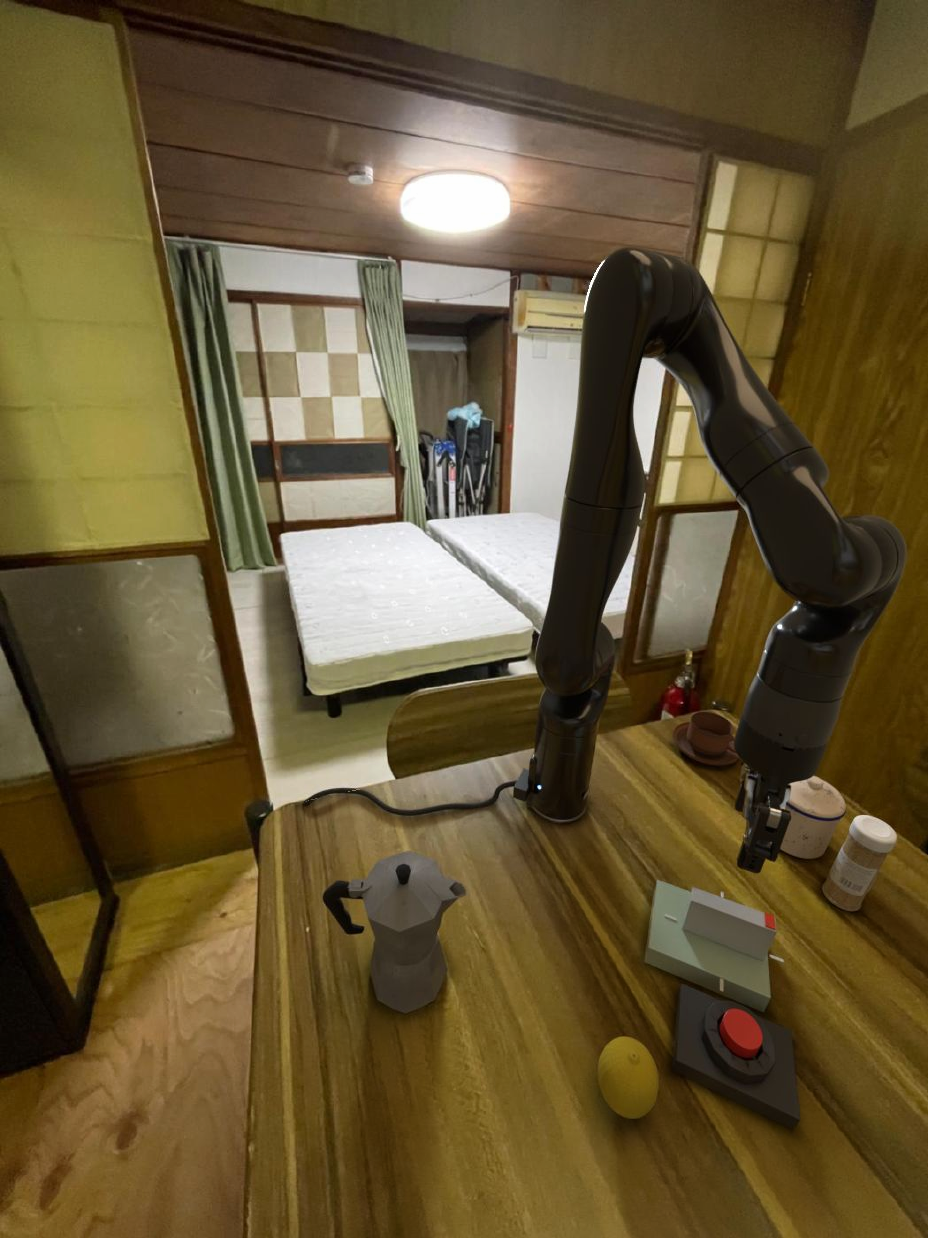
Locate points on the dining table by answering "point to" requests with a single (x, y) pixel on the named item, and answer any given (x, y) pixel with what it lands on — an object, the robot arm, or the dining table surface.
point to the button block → (735, 1058)
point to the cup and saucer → (707, 739)
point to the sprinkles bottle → (858, 862)
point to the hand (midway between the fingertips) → (745, 838)
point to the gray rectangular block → (729, 923)
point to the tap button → (741, 1033)
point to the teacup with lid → (812, 817)
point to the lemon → (628, 1077)
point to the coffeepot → (401, 925)
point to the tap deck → (702, 953)
